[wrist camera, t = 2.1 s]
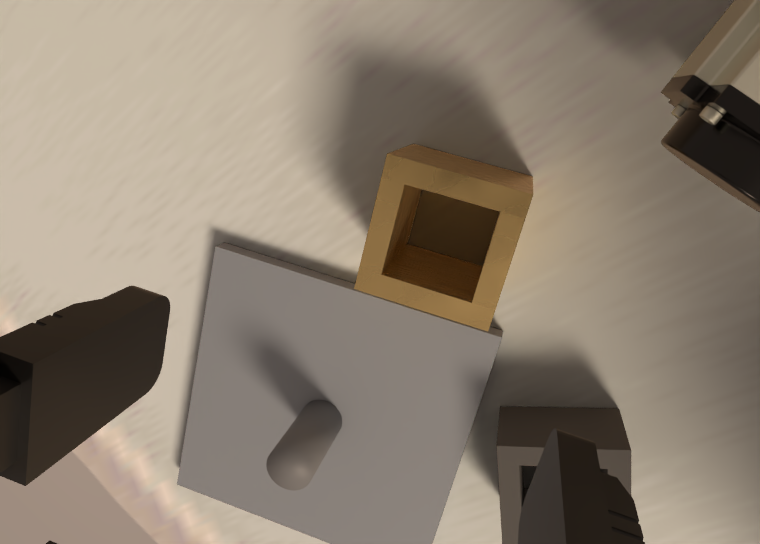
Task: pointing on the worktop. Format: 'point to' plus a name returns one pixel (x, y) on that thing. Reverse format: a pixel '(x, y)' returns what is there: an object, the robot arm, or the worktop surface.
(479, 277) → the brass collar
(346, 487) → the post block
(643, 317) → the worktop surface
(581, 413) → the grey hollow square block
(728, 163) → the pneumatic valve
